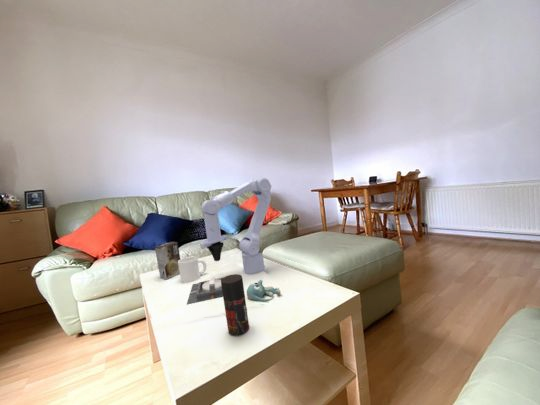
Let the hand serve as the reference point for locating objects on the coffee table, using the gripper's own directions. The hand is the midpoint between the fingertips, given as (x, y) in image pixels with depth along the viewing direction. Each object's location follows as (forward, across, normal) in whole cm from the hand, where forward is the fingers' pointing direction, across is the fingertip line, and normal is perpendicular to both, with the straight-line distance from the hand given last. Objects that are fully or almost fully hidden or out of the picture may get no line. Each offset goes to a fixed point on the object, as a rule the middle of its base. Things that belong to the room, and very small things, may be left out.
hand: (217, 260), depth 99 cm
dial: (+9, -7, -3) cm, 12 cm away
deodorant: (+11, -23, -27) cm, 37 cm away
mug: (+11, +1, +16) cm, 19 cm away
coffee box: (+11, +2, +34) cm, 36 cm away
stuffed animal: (+11, -5, -25) cm, 27 cm away
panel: (+10, -6, -2) cm, 12 cm away
